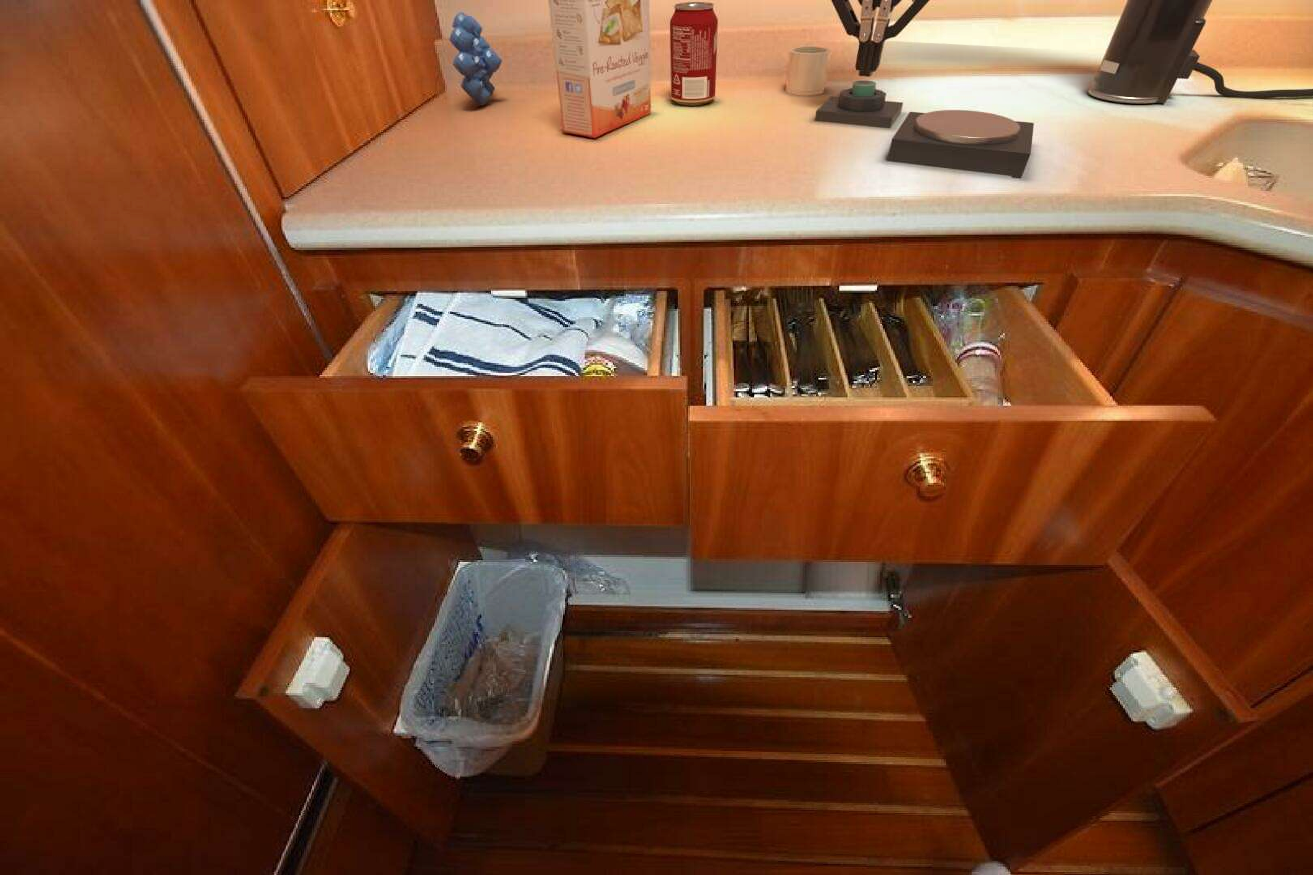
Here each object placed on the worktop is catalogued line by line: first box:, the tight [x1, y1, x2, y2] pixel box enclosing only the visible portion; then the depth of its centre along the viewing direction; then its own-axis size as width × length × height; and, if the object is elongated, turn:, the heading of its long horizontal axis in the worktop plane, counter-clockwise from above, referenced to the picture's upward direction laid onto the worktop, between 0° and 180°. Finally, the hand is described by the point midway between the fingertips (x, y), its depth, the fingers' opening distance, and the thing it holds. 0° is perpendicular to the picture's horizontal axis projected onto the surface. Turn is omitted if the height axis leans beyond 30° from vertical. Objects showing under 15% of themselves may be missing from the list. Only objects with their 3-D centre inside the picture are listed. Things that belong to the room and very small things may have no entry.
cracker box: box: [548, 0, 652, 139], centre depth 75 cm, size 14×6×21 cm, turn 148°
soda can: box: [669, 1, 719, 107], centre depth 85 cm, size 7×7×12 cm
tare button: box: [851, 80, 877, 97], centre depth 78 cm, size 3×3×2 cm
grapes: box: [449, 11, 503, 107], centre depth 87 cm, size 12×7×12 cm, turn 177°
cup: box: [785, 45, 831, 96], centre depth 90 cm, size 6×6×6 cm
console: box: [814, 87, 904, 129], centre depth 80 cm, size 10×8×3 cm
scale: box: [886, 109, 1035, 179], centre depth 68 cm, size 14×12×3 cm
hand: (865, 74), depth 77 cm, fingers closed
